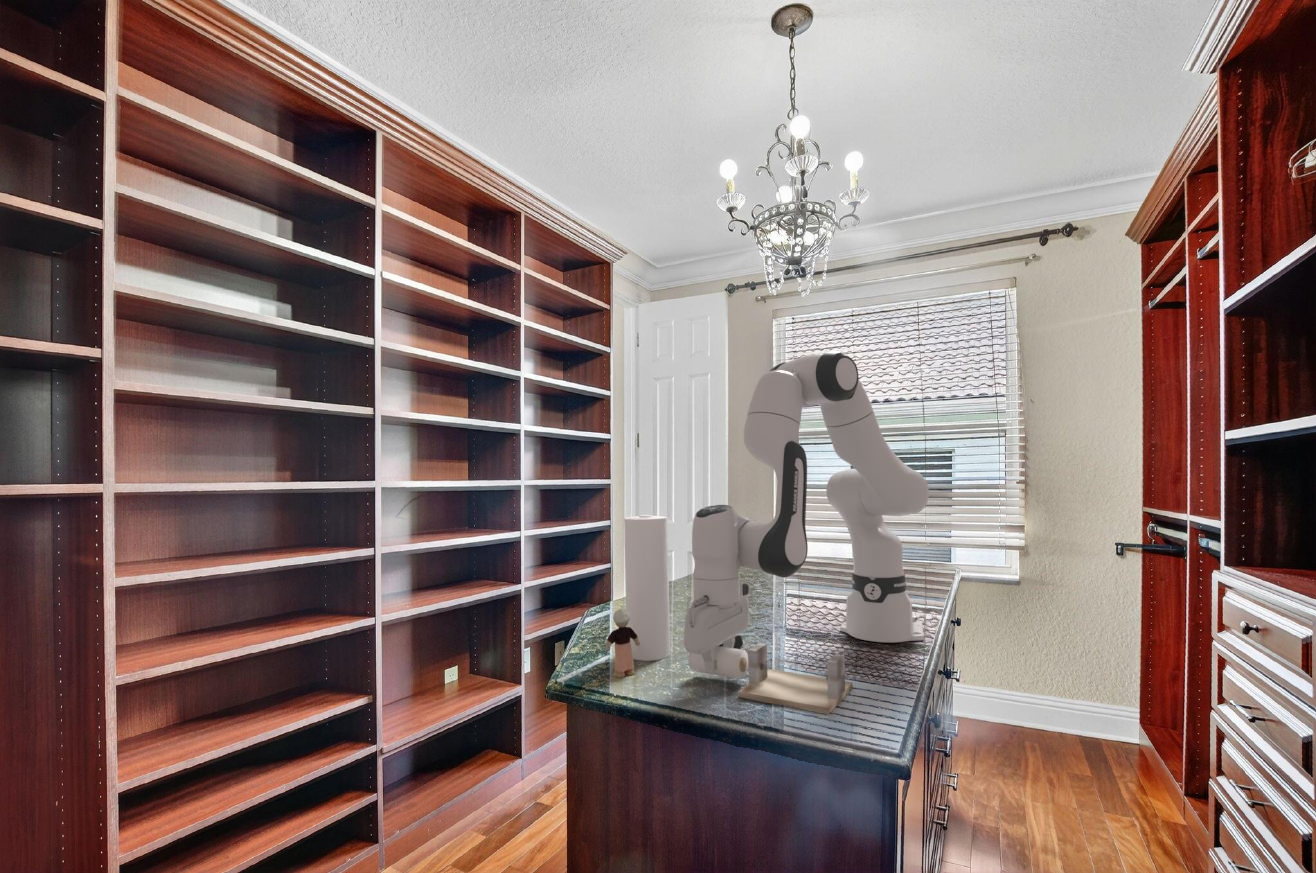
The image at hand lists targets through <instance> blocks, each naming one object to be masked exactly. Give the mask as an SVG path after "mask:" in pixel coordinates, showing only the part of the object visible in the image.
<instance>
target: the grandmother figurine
mask: <svg viewBox="0 0 1316 873" xmlns="http://www.w3.org/2000/svg"><path fill="white" fill-rule="evenodd" d="M612 619H613V622H614V623H615V626H617V627H618V628H617V629H614V630H612V631H611V632H610V634H609V635H608V637H607V640H606V643H605V646H604V650H605V651H606V652H607V651H610V650H611V647H612V645H613V644H614V672H613V674H612V675H615V676H614V677H616V676H618V677H617V678H619V677H622V678H625V677H626V676H633V675H636V673H635V669H634V659H633V655H632V649H631V643H630V638H631V639H633V640H634V642H635V645H636V646H639V645H640V641H639V639H638V637H637V634H636V633H635V632H634V631H633V629H632V628H630V627H627V624H628V621H629V620H630V615H629V614H628V612H627V610H626V608H625V609H624V608H619V609H618V610H616V611H615V612H614V613H613V616H612ZM624 676H625V677H624Z"/></svg>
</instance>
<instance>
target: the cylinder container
mask: <svg viewBox="0 0 1316 873" xmlns="http://www.w3.org/2000/svg"><path fill="white" fill-rule="evenodd" d="M623 518H624V559H625V562H624V563H625V564H624V566H625V567H624V568H625V569H624V570H625V606H626V607H625V610H627V612H628V614H629V615H630V620H629V621H628V624H627V626H626V627H630V628H632V629H633V631H634V632H635V633H636V634H637V637H638V639H639V641H640V645H639V646H636V645H635V642H634V640H633V639H631V638H630V643H631V649H632V655H633V660H636V661H642V662H643V661H645V662H646V661H658V660H662V659H663V660H664V659H666V658H668V657H670V656H671V629H670V628H671V626H670V622H671V620H670V619H671V618H670V617H671V616H670V583H669V582H670V580H669V579H670V578H669V577H670V576H669V573H670V571H669V541H668V538H669V537H668V532H669V531H668V516H663V515H653V514H639V515H636V516H633V515H632V516H627V517H623Z"/></svg>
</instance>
